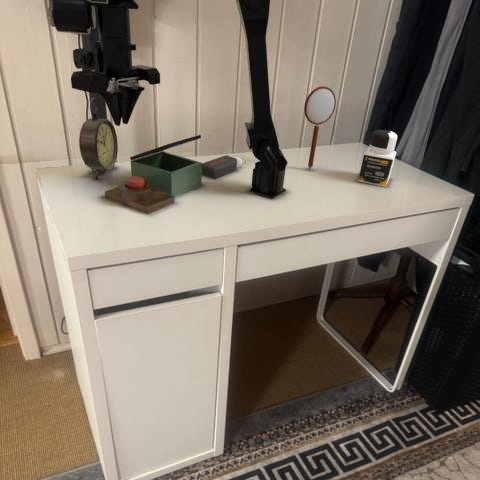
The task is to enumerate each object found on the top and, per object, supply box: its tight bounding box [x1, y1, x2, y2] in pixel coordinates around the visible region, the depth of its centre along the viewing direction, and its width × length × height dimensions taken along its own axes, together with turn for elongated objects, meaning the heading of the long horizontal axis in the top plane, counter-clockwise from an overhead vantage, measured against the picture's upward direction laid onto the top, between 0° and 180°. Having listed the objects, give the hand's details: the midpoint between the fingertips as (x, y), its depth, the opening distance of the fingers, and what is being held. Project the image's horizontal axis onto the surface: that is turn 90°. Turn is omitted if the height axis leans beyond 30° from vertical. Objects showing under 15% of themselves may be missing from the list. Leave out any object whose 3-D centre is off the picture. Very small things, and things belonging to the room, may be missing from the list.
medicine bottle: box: [357, 129, 398, 188], centre depth 116 cm, size 7×7×12 cm
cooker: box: [130, 150, 203, 198], centre depth 104 cm, size 12×11×5 cm
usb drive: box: [202, 154, 242, 180], centre depth 115 cm, size 5×12×3 cm, turn 144°
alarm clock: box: [78, 97, 119, 180], centre depth 104 cm, size 11×5×16 cm, turn 168°
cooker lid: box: [129, 134, 202, 161], centre depth 101 cm, size 12×11×1 cm
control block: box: [104, 180, 175, 215], centre depth 96 cm, size 12×8×4 cm
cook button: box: [125, 175, 145, 190], centre depth 94 cm, size 4×4×2 cm
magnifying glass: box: [303, 86, 337, 171], centre depth 116 cm, size 9×2×20 cm, turn 113°
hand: (121, 124), depth 96 cm, fingers closed
